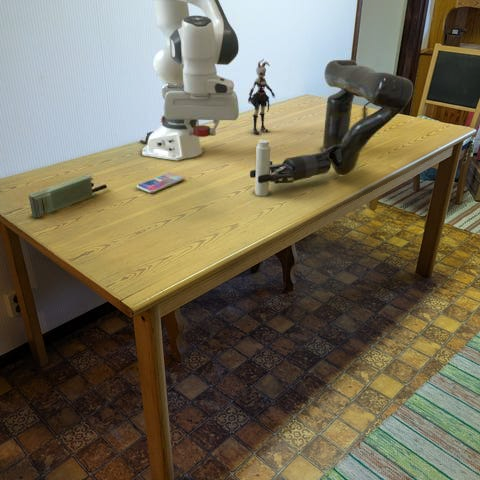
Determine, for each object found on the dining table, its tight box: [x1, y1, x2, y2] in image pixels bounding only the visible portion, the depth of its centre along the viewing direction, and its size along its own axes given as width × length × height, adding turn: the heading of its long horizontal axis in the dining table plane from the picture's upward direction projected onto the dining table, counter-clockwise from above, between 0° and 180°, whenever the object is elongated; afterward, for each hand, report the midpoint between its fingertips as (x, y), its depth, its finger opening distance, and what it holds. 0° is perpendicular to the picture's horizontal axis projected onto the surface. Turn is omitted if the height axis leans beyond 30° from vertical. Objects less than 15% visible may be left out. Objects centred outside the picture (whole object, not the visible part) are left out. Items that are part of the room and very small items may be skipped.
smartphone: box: [136, 172, 184, 194], centre depth 164 cm, size 7×1×15 cm
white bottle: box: [254, 139, 271, 197], centre depth 155 cm, size 4×4×17 cm
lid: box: [194, 124, 211, 138], centre depth 139 cm, size 5×5×2 cm
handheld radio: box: [28, 173, 108, 219], centre depth 150 cm, size 7×3×25 cm
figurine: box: [247, 58, 276, 135], centre depth 206 cm, size 15×6×30 cm, turn 132°
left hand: (202, 135), depth 140 cm, fingers closed on lid, 4 cm apart
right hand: (254, 177), depth 155 cm, fingers closed on white bottle, 4 cm apart
